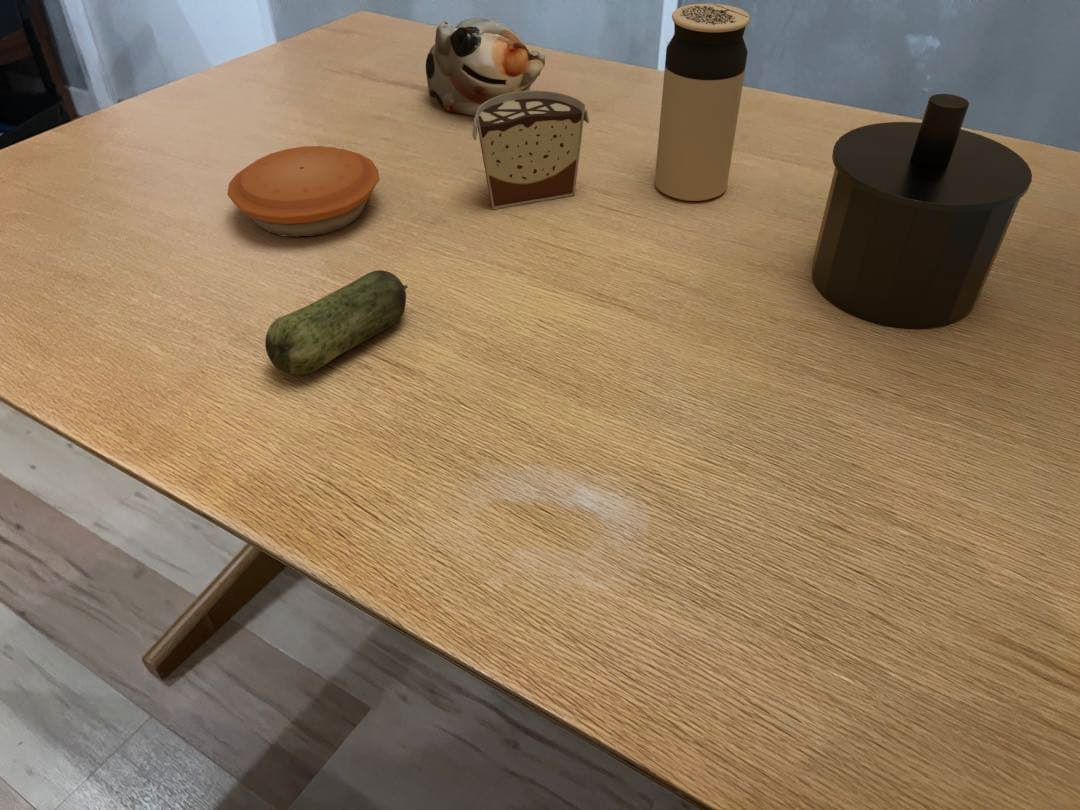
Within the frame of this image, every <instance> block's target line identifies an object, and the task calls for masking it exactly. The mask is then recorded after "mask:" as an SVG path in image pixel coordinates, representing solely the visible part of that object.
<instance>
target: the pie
mask: <svg viewBox="0 0 1080 810" xmlns="http://www.w3.org/2000/svg"><path fill="white" fill-rule="evenodd" d="M379 181H380V173H379V169H378V168H377V166H376V165H375V163H374V161H373V160H372V159H370V158H369V157H367V156H365V155H363V154H361V153H358V152H355V151H351V150H349V149H345V148H340V147H334V146H323V145H311V146H310V145H309V146H308V145H306V146H297V147H292V148H291V147H290V148H286V149H283V150H282V149H281V150H278V151H275V152H272V153H270V154H269V153H268V154H267V155H264V156H262V157H260V158H258V159H256V160H255V161H253V162H252V163H250V164H249V165H247V166H245V167H244V168H243V169H241V170H240V171H239V172H237V173H236V174H235V175H234V177H232V179H231V180H230V181H229V183H228V187H227V196H228V197H229V199H230V200H231V202H232V203H233V204H234V205H235V207H237V208H238V209H239V210H240V211H242V212H243V213H245V214H246V215H247V216H248V217H249V218H250V219H251V220H252V221H254V222H255V223H256V224H257V225H258V226H259V225H260V226H259V227H261V228H262V227H263V228H262V229H263V230H265V229H266V230H265V231H267V232H268V231H270V232H269V233H271V232H273V233H272V234H274V233H276V234H275V235H277V234H279V235H278V236H280V235H285V236H284V237H288V236H293V237H292V238H300V237H299V236H311V237H314V236H313V235H317V236H320V235H319V234H322V235H326V234H325V233H327V234H329V232H330V233H333V232H336V231H338V230H341V229H343V228H344V226H345V227H346V226H348V225H350V224H352V223H354V221H355V220H356V219H357V218H359V216H360V215H361V214H362V212H363V209H364V207H365V205H366V203H367V201H368V199H369V197H370V196H371V194H372V193H373V191H374V189H375V187H376V186H377V184H378V183H379ZM351 222H352V223H351ZM342 227H343V228H342ZM340 228H341V229H340ZM337 229H338V230H337ZM332 231H333V232H332ZM295 236H296V237H295Z"/></svg>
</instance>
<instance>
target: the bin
mask: <svg viewBox="0 0 1080 810" xmlns="http://www.w3.org/2000/svg"><path fill="white" fill-rule="evenodd" d="M831 179H832V180H831V183H830V186H829V192H828V195H827V200H826V204H825V208H824V212H823V216H822V220H821V224H820V228H819V232H818V236H817V240H816V244H815V249H814V253H813V257H812V266H811V278H812V282H813V284H814V286H815V288H816V289H817V291H818V292H819V293H820V294H821V296H823V297H824V298H825V299H826V301H828V302H829V303H830V304H832V305H834V306H835V307H837V308H838V309H840V310H841V311H843V312H845V313H847V314H848V315H849V314H850V315H852V316H854V317H856V318H858V319H861V320H864V321H867V322H870V323H874V324H877V325H881V326H886V327H892V328H896V329H897V328H898V329H910V330H911V329H912V330H921V329H922V330H923V329H935V328H939V327H940V328H941V327H945V326H949V325H952V324H954V323H957V322H959V321H960V320H962V319H964V318H966V316H968V315H969V314H970V313H971V312H972V311H973V310H974V307H975V305H976V303H977V302H978V299H979V298H980V296H981V294H982V291H983V289H984V287H985V285H986V282H987V279H988V277H989V274H990V272H991V270H992V268H993V265H994V263H995V260H996V259H997V256H998V253H999V250H1000V248H1001V247H1002V243H1003V241H1004V239H1005V237H1006V234H1007V231H1008V229H1009V227H1010V224H1011V222H1012V219H1013V217H1014V215H1015V213H1016V209H1017V208H1018V205H1019V203H1020V200H1021V198H1020V199H1019V200H1017V201H1015V202H1013V203H1011V204H1009V205H1006V206H1003V207H1000V208H996V209H991V210H985V211H976V212H946V211H935V210H927V209H921V208H916V207H910V206H906V205H902V204H898V203H895V202H892V201H888V200H885V199H882V198H880V197H877V196H875V195H872V194H870V193H868V192H866V191H864V190H862V189H860V188H858V187H857V186H855V185H853V184H852V183H850V182H849V181H848V180H846V179H845V178H844V177H843V176H842V175H841V174H840V173H839V172H838V170H837V169H836V168H835V167H834V171H833V175H832V178H831Z"/></svg>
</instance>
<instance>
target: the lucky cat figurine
mask: <svg viewBox="0 0 1080 810" xmlns="http://www.w3.org/2000/svg"><path fill="white" fill-rule="evenodd" d="M434 41H435V42H434V44H433V45H432V46H431V47H430V49H429V52H428V53H427V55H426V56H427V57H426V60H425V74H426V75H425V76H426V82H427V89H428V95H429V96H430V97H431V98H432V99H436V100H437V102H438V103H439V105H440V106H441V108H442V109H443V110H444V112H448V113H449V112H450V113H454V114H460V115H465V116H470V117H471V116H472V117H475V115H476V114H477V110H478V108H479V107H480V106H481V105H482V104H483V103H484V102H486V101H488V100H489V99H492V98H494V97H497V96H500V95H503V94H507V93H512V92H520V91H531V86H532V85H533V84H534V82H535V81H537V79H538V77H539V76H541V72H542V70H543V69H544V68H545V65H546V55H545V54H541V53H540V51H537V50H535V51H530V50H529V49H528V47H527V46H526V45H525V42H524V40H523V38H522V36H520V35H519V34H518V33H517V32H516V31H515V30H514V29H513V28H510V27H508V26H507V24H505V23H503V22H502V21H499V20H497V19H486V18H484V17H483V18H482V17H478V18H477V17H475V18H469V19H464V20H462V21H460V22H459V23H458V24H457V25H456V26H455V27H453V26H451V25H450V24H449V23H448V22H447V21H442V22H441V23H439V26H437V27H436V30H435V39H434Z"/></svg>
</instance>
